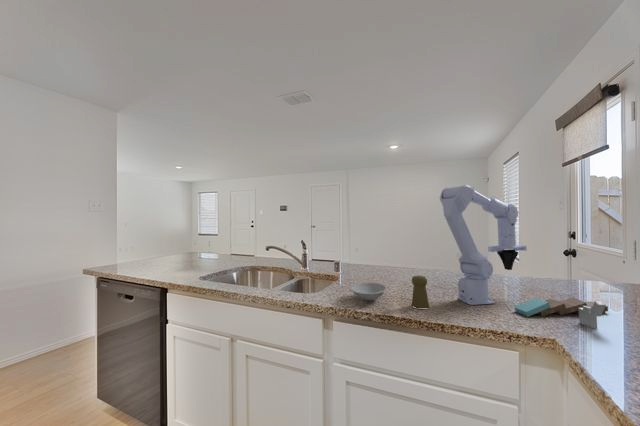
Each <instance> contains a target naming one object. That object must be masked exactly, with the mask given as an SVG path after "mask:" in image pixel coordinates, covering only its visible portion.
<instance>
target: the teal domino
mask: <svg viewBox="0 0 640 426" xmlns="http://www.w3.org/2000/svg"><path fill="white" fill-rule="evenodd" d="M513 307H514V311H515V312H516V313H518V314H521V315H522V316H525V317H527V318H529V317H531V316H533V315H537V314H536V313H538V312H540V311H543V310H545V309H548V308H550V304H549V302H546V301H545V300H543V299H539V298H537V297H534V298H532V299H530V300H527V301H525V302H523V303H520V304H518V305H516V306H513Z"/></svg>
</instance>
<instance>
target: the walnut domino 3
mask: <svg viewBox="0 0 640 426" xmlns="http://www.w3.org/2000/svg"><path fill="white" fill-rule="evenodd" d="M584 302H585V303H586V304H587V306H588V307H591V308H592V307H593V304H594V302H595V301H592V300H591V301H584ZM578 311H579V310H578ZM603 312H605V313H606V312H609V306H608V305H606V306H605V308H604V311H603Z"/></svg>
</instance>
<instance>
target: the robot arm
mask: <svg viewBox="0 0 640 426" xmlns="http://www.w3.org/2000/svg"><path fill="white" fill-rule="evenodd" d="M497 198H498V197H496V196H490V197H487V196H484V194H481V193H479V192H478V191H476V190H475V189H474V187H472V186H470V185H468V184H464V185H461V186H455V187H445V188H443V190H442V191H441V193H440V196H439V200H440V202H441V205H442V209H443V216H444V219H445V220H446V223H447V225H448V226H449V227H448V228H449V229H450V231H451V234H452V235H453V238H454V240H455V242H456V245H457V246H458V249H459V252H460V253H461V255H460V257H459V259H458V262H459V269H460V271H461V272H462V273H463V277H461V278H459V280H458V284H457V285H458V287H457V288H458V297H457V300H460V301H461V302H463V303H465V304H467V305H469V306H474V305H486V304H487V305H491V304H495V303H496V302H495V301H492V300H490V299H489V279H491V276H492V275H493V272H494V266H493V264H492V263H491V262H490V261H489V260H488V257H487V256H486V255H484V254H483V253H481V252H480V251H479V249H478V248H477V246H476V244H475V240H474V239H473V236H472V235H471V232H470V229H469V227H468V225H467V223H466V221H465V219H464V217H463V212H464V211H466V209H467V207H468V206H469V204H470V203H473V204H476V205H478V206H481V208H482V210H483V211H485V212H487V213H489V214H491V215H492V216H493V217H494V218H495V219H496V220H497V239H498V240H497V242H498V245H494V246H492V245H491V246H488V247H487V248H488V252H490V253H495V252H496V253H497V255H498V256H499V258H500V260H501V262H502V264H503V267H504V270H506V271H512V270H513V266H514V263H515V259H517V256H518V255H519V251H524V252H525V251H528V249H527V245H524V244H522V245H521V244H518V245H517V237H516V223H517V218H518V216H519V211H518V208H517V206H516V205H514V204H507V203H506V202H505V201H501V200H499V199H497Z"/></svg>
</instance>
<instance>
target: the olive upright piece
mask: <svg viewBox="0 0 640 426" xmlns="http://www.w3.org/2000/svg"><path fill="white" fill-rule="evenodd" d="M411 283H412V286H413V288H412V296H411V297H412V300H411V307H412V306H414V307H416V308H428V309H430V302H429V297H428V296H429V295H428V292H427V286H426V285H427V284H428V279H427V277H426V276H423V275H414V276H413V277H412V278H411Z"/></svg>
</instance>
